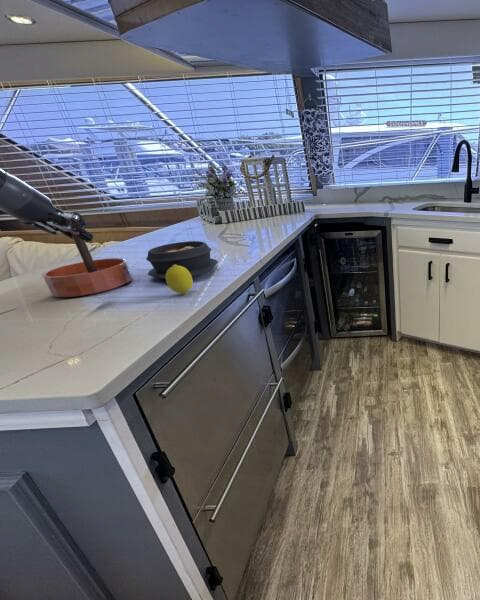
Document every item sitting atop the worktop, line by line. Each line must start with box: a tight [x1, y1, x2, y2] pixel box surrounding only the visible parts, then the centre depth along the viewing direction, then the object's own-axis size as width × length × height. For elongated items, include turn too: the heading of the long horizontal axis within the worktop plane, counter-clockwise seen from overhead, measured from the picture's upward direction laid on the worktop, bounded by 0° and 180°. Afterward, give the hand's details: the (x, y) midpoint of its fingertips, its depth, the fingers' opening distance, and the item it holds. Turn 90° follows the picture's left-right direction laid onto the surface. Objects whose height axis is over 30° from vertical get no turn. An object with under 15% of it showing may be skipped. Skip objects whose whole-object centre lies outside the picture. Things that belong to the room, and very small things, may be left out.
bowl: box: [41, 257, 133, 298], centre depth 90 cm, size 17×17×6 cm
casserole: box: [145, 240, 219, 280], centre depth 99 cm, size 25×19×8 cm
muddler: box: [70, 225, 98, 273], centre depth 86 cm, size 5×5×16 cm
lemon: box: [165, 265, 194, 295], centre depth 81 cm, size 6×6×8 cm
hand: (86, 239), depth 87 cm, fingers closed on muddler
